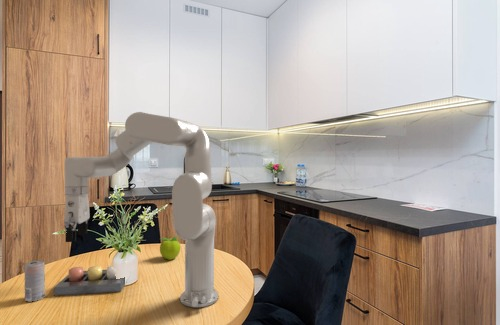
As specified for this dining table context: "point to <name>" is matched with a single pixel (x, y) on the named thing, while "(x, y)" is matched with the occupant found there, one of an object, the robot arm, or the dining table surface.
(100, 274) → the mustard button
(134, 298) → the dining table surface
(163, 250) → the fruit
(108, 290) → the grey compartment tray
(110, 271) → the ivory button
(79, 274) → the brick button
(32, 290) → the energy drink
